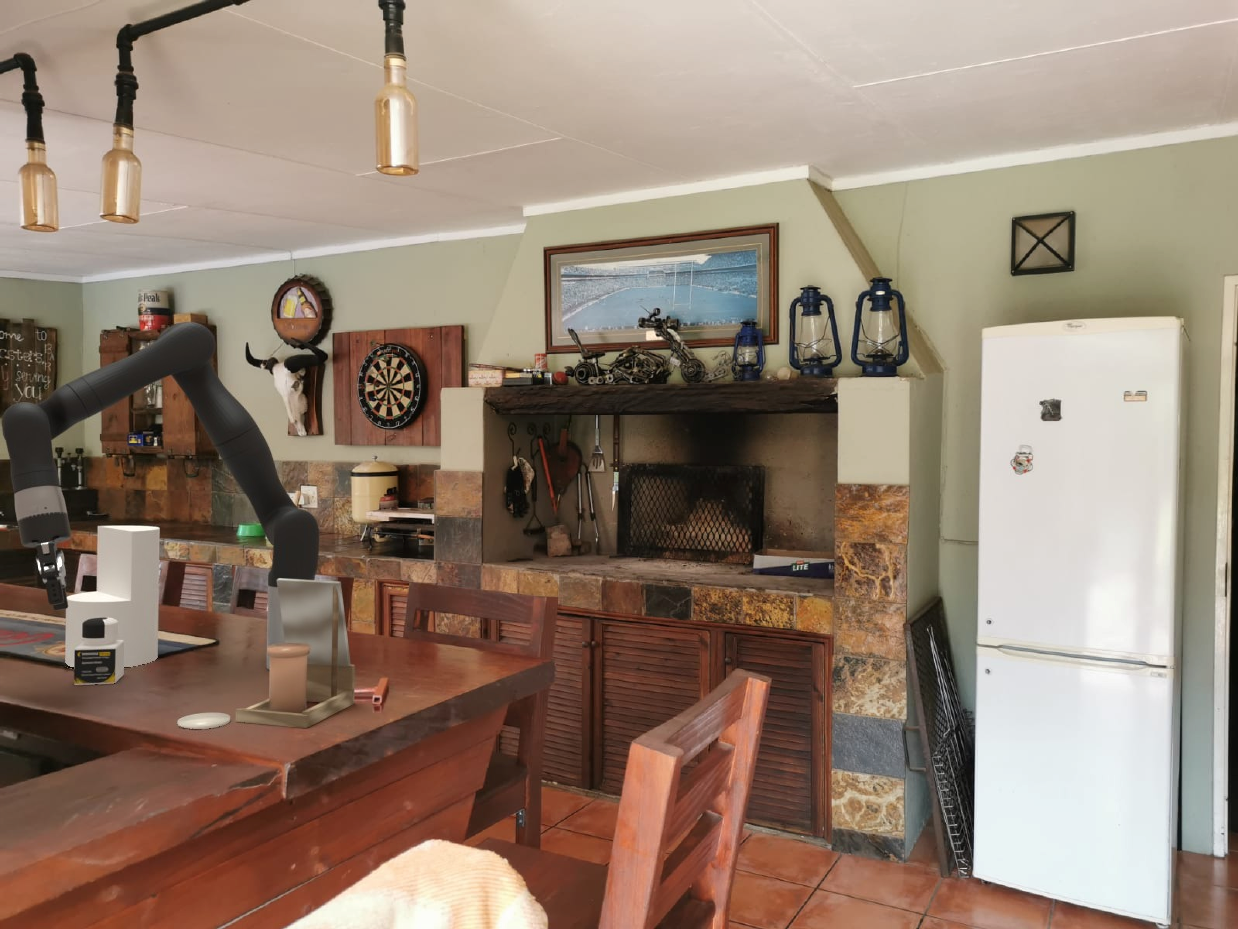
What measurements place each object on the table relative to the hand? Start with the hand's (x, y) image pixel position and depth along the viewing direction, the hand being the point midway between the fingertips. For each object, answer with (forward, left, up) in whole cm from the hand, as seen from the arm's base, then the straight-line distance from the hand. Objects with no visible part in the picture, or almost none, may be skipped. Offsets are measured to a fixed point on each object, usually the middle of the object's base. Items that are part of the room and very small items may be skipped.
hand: (59, 606), depth 163 cm
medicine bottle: (-19, -8, -18) cm, 27 cm away
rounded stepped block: (-34, -18, -18) cm, 42 cm away
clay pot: (-7, +40, -18) cm, 44 cm away
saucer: (0, +29, -18) cm, 34 cm away
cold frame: (-10, +40, -18) cm, 45 cm away
